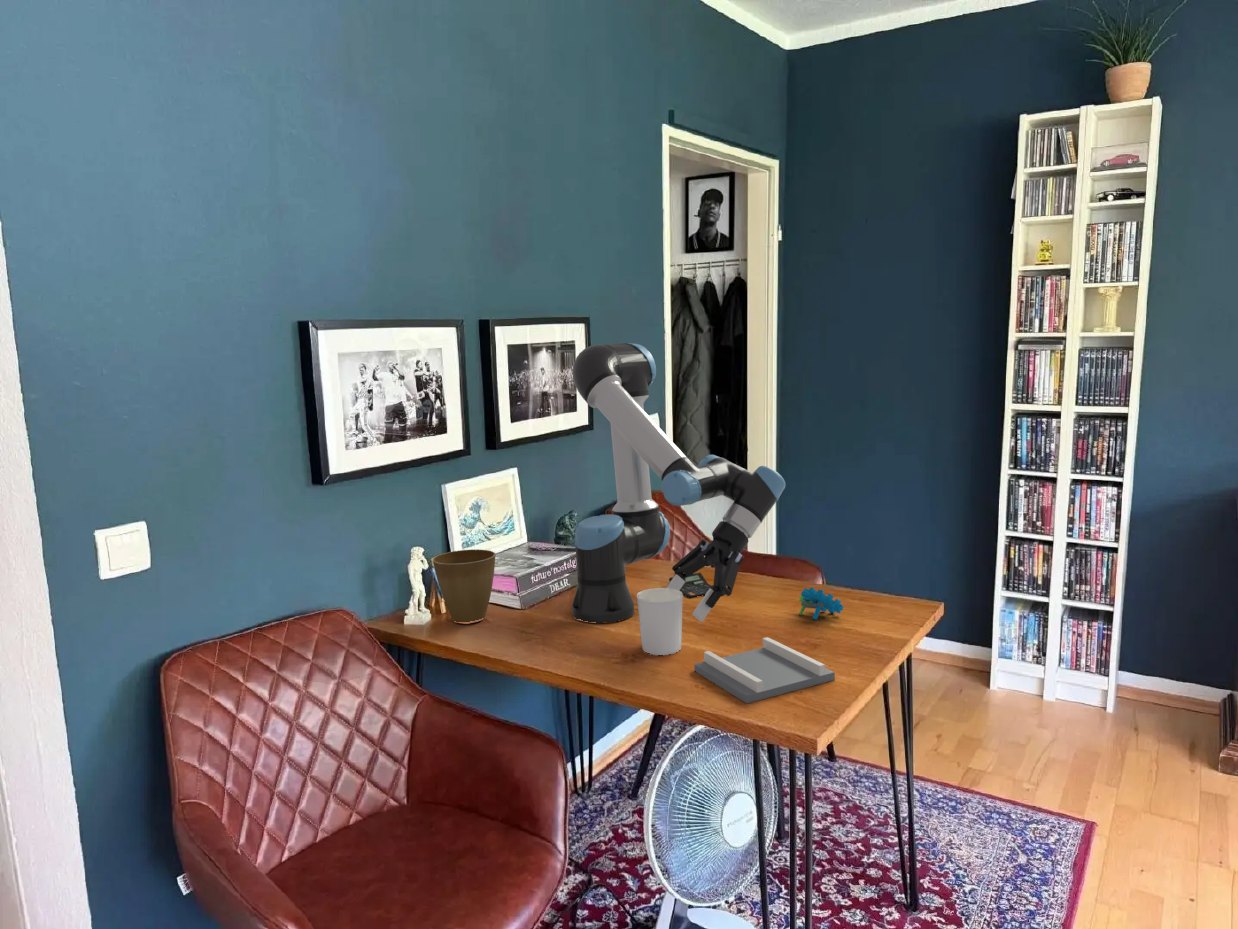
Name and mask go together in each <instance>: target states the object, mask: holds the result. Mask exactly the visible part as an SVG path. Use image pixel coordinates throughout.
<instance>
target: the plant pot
mask: <svg viewBox="0 0 1238 929" xmlns="http://www.w3.org/2000/svg"><path fill="white" fill-rule="evenodd" d="M432 563H433V568H434V573H435V576H436V580H437V583H438V586H439V589H440V593H441V596H442V598H443V601H444V604H445V606H446V608H447V611H448V612H449V616H450V617H451V620H452V621H453V620H454V621H456V622H470V621H475V620H479V619H482V618H484V617H486V615H487V611H488V607H489V604H490V599H491V594H492V589H493V584H494V575H495V568H496V566H495V565H496V552H495V551H493V550H489V549H475V548H474V549H462V550H461V549H460V550H454V551H448V552H445V553H441V554H438V555H435V556H434V557H433V558H432ZM484 619H485V618H484ZM454 621H453V622H454Z"/></svg>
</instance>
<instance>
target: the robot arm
mask: <svg viewBox="0 0 1238 929" xmlns="http://www.w3.org/2000/svg"><path fill="white" fill-rule="evenodd" d="M656 375H657V366H656V363H655V359H654V357H653V355H652V353H651V352H650V351H649V350H648V349H647V347H645V346H643V345H641V344H639V343H629V342H627V343H626V342H622V343H607V344H594V345H593V344H592V345H590V346H587V347H585V348H584V349H582V350H581V352H579V353H578V355H577V356H576V358H575V361H574V362H573V366H572V379H573V383H574V386H575V388H576V390H577V392H578V393H579V395H580V396H581V397H582V399H583V400H584V401H585V402H586V404H587V405H588V406H589V407H591V408H593V409H596V408H597V409H598V410H599V412H600V413H601V414H602V415H603V416H604V417H605V418H606V419H607V420H608V422H609V423H610V434H611V443H612V456H613V465H614V475H615V476H614V478H615V487H616V499H617V500H616V504H615V505H614V506H613V507H612V509H611V510H612V514H608V513H607V514H600V515H595V516H589V517H586V518H585V519H583V520H581V521H580V522H579V523H577V525H576V526H575V535H574V537H575V538H574V547H575V558H576V559H575V560H576V561H575V562H576V575H577V576H576V578H577V586H576V590H575V594H574V597H573V601H572V605H571V616H572V615H573V616H574V617H575V618H576V619H581V620H583V621H588V622H596V623H595V624H605V623H604V622H612V623H616V622H615V621H618V622H620V621H619V620H622V619H625V620H627V619H630V618H632V616H633V615H634V614H635V603H634V599H633V597H632V595H631V591H630V589H629V587H628V584H627V579H626V566H628V565H630V564H634V563H637V562H639V561H643V560H649V559H651V558H653V557H655V556H657V555H659V554H661V553H662V552H663V551H664V549H665V548H666V547H667V545H668V543H669V540H670V536H671V535H670V534H671V528H670V524H669V521H668V519H667V518H665V514H663V512H661V511H660V509H659V504H658V503H657V502H656V501H655V500H653V498H652V487H651V478H650V477H651V475H650V469H651V470H652V471H653V472H654V473H655V474H656V475H657V477H658V478H660V480H661V481H662V482H661V492H662V494H663V497H664V499H665V500H666V502H668V503H669V504H670V505H672V506H676V507H680V506H690V505H693V504H696V503H698V502H701V501H705V500H708V499H713V498H717V497H720V496H723V497H726V498H728V499H729V500H731V501H733V503H732V504H731V505H730V507H729V508H728V509H727V511H726V512H725V514H724V515H723V517H722V521H719V523H718V524H717V525H716V527H715V528H714V530H713V531H712V533H711V535H712V540H711V541H710V543H709V542H708V541H707V540H705V539H701V540H700V541H699V542H698V544H697V545H696V546H695V547H693V549H692V550H691V551H689V552H688V553H687V554H685V555H684V556H683V557H682V558H681V559H680V560H679V561H677V563H675V564H674V565H673V566H672V567H671V569H672V571H673V573H674V575H673V576H672V577H673V578H672V579H671V581H669V582H668V583H667V586H666V587H665V588H671V589H676V590H680V589H681V587H682V586H683V584H684V583H685V581H686V578H687V577H688V576H690V575H692V574H695V573H698V571H700V570H701V569H703V568H705V567H710V566H711V567H714V576H713V577H714V578H713V585H712V587H711V588H712V589H713V590H714V591H713V590H712V589H709V590H708V591H707V593H706V594H705V596H702V599H701V600H700V601H699V603H698V604H697V606H696V607H695V608H694V610H693V612H692V613H691V615H692V616H693V617H694V618H696V619H697V620H698V621H699V622H700V623H703V621H704V620H705V618H706V617H707V616H708V614H709V613H710V611H711V610H712V609H713V608H714V607H715V606H716V604H717V603H718V601H719V599H721V597H724V596H727V597H729V596H731V595H732V593H733V589H734V586H735V582H736V580H737V576H738V572H739V569H740V566H741V565H742V562H744V559H745V557H744V555H743V554H741V553H742V552H743V551H744V549H745V548H746V546H747V545H748V544H749V542H750V541H749V539H751V538H752V537H753V535H754V534H755V532H756V531H757V530H758V528H759V527H760V526H761V524H762V523H763V521H764V519H765V518H766V516H767V515H768V514H769V513H770V511H771V510H772V508H773V507H774V506H775V504H776V503H777V502H778V501H779V499H780V496H781V495H782V493H783V491H784V490H785V488H786V481H785V478H783V476H782V474H780V473H779V472H778V471H776V470H774V469H773V468H772V467H769V466H766V465H765V466H764V465H759V466H757V468H756V469H755V470H754V471H751V470H748V469H746V468H743V467H742V466H740V465H737V464H735V463H733V462H731V461H729V460H728V459H727V458H724V457H720V456H717V455H715V454H708V455H707V456H705V457H704V459H701V461H700V462H699V463H698V465H697V466H696V465H695V464H694V463H693V461H691V460H690V459H689V458H688V457H687V455H686V454H685V453H683V452H682V450H681V449H680V448H679V447H678V446H677V445H676V444H675V443H674V442H673V440H671V438H670V437H669V436H668V435H667V433H665V431H663V430H662V428H661V427H660V426H659V425H658V424H657V423H656V422H655V421H654V420H653V419H652V418H651V417H650V415H649V414H648V413H647V412H646V411H645V409H644V404H645V401H647V399H648V398H649V397H650V396H649V393H650V392H649V388H650V386H652V385H653V383H654V380H655V379H656ZM576 619H575V620H576ZM622 621H623V620H622Z"/></svg>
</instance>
